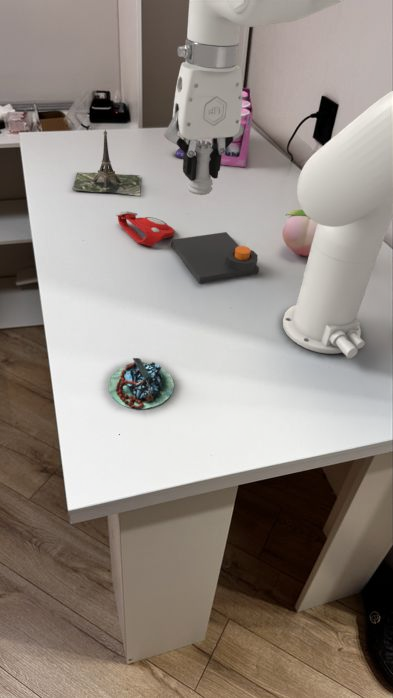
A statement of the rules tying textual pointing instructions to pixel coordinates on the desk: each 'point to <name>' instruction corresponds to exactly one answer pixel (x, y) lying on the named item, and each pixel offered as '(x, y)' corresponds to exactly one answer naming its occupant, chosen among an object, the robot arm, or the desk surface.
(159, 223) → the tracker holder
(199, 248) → the scale
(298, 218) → the decorative fruit
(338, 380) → the desk surface
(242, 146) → the gum box
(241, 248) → the button
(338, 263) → the robot arm
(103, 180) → the eiffel tower figurine
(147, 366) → the dish
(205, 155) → the rook chess piece
